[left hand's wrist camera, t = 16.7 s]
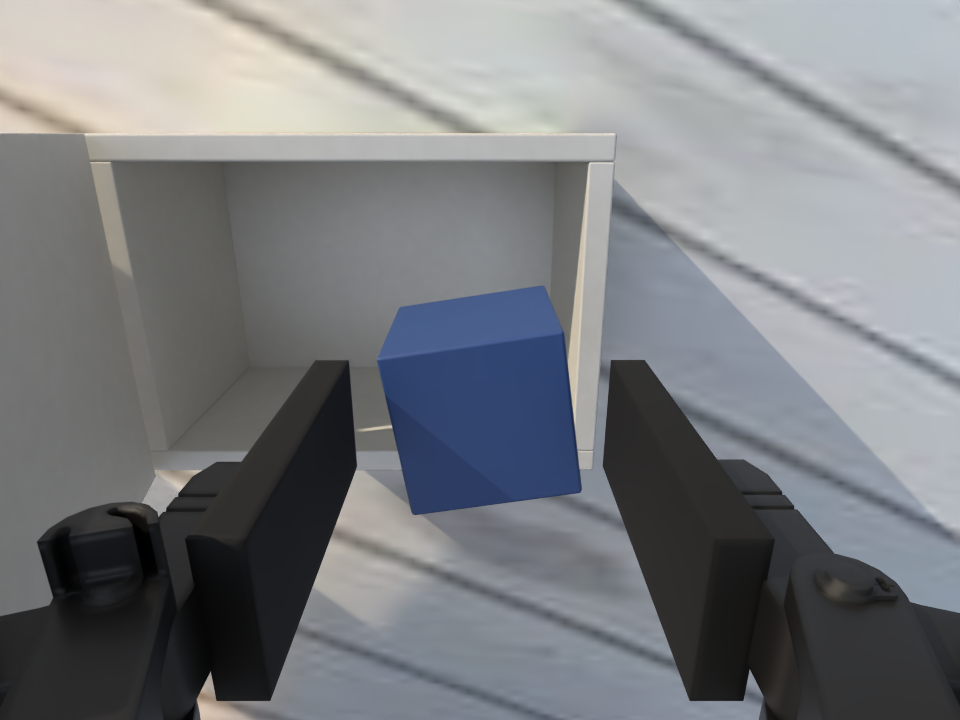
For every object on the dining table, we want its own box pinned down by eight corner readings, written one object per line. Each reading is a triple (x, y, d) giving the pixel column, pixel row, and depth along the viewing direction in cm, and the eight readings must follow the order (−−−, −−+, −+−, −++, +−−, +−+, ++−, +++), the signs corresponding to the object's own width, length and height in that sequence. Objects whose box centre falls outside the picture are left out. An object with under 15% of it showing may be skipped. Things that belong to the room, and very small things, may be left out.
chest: (573, 133, 29) (617, 133, 20) (561, 376, 33) (593, 470, 24) (207, 133, 29) (78, 133, 20) (242, 376, 33) (149, 470, 24)
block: (544, 283, 17) (564, 330, 13) (560, 417, 19) (582, 493, 15) (398, 306, 17) (375, 358, 14) (425, 436, 19) (411, 516, 15)
